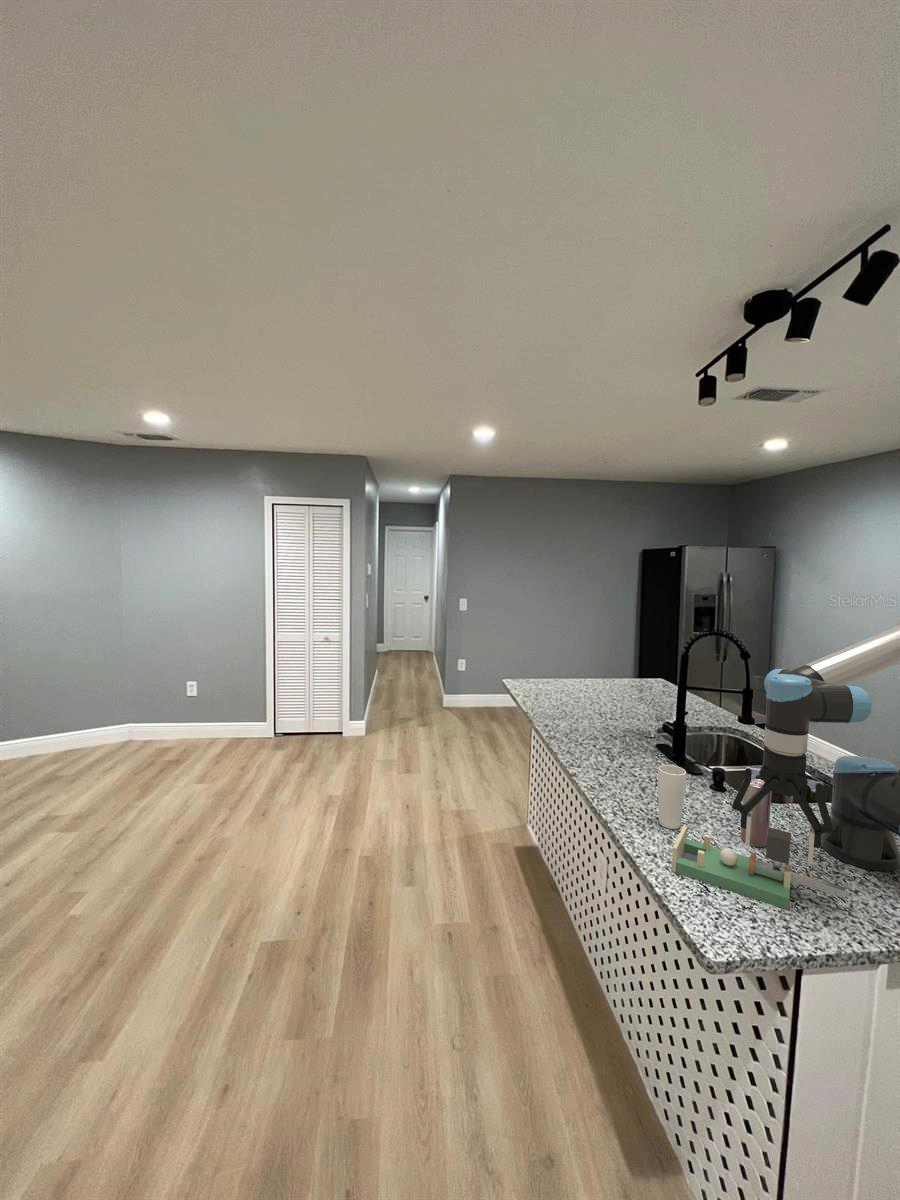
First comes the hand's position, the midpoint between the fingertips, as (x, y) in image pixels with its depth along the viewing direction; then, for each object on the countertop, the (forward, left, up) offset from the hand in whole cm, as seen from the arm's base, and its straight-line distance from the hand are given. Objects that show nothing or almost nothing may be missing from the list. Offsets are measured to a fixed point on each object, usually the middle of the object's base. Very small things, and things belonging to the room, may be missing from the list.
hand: (778, 852), depth 110 cm
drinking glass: (+24, -16, -9) cm, 30 cm away
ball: (+9, 0, -4) cm, 10 cm away
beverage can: (+5, -20, -9) cm, 22 cm away
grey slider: (-3, 0, -5) cm, 6 cm away
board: (+8, 0, -8) cm, 12 cm away
